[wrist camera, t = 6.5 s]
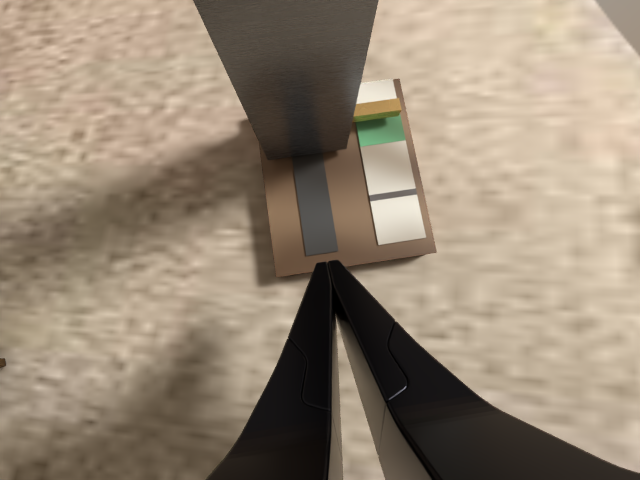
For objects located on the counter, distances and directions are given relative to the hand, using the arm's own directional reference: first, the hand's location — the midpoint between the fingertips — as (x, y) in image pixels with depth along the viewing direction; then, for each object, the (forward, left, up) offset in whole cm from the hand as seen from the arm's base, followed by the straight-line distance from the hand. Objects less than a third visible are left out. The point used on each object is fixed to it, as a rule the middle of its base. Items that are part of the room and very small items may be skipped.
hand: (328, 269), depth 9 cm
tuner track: (+6, +1, -7) cm, 10 cm away
